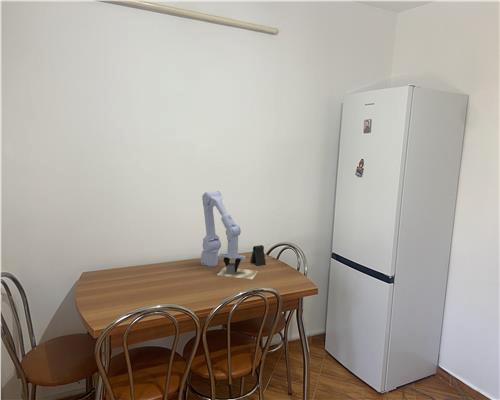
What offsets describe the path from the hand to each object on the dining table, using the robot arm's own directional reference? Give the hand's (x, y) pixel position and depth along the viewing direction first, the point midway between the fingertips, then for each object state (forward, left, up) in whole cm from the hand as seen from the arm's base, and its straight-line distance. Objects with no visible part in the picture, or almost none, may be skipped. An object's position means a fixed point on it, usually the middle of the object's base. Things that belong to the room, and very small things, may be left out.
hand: (232, 271), depth 203 cm
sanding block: (0, 0, 0) cm, 0 cm away
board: (+3, 0, -2) cm, 4 cm away
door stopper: (+10, +20, -2) cm, 23 cm away
